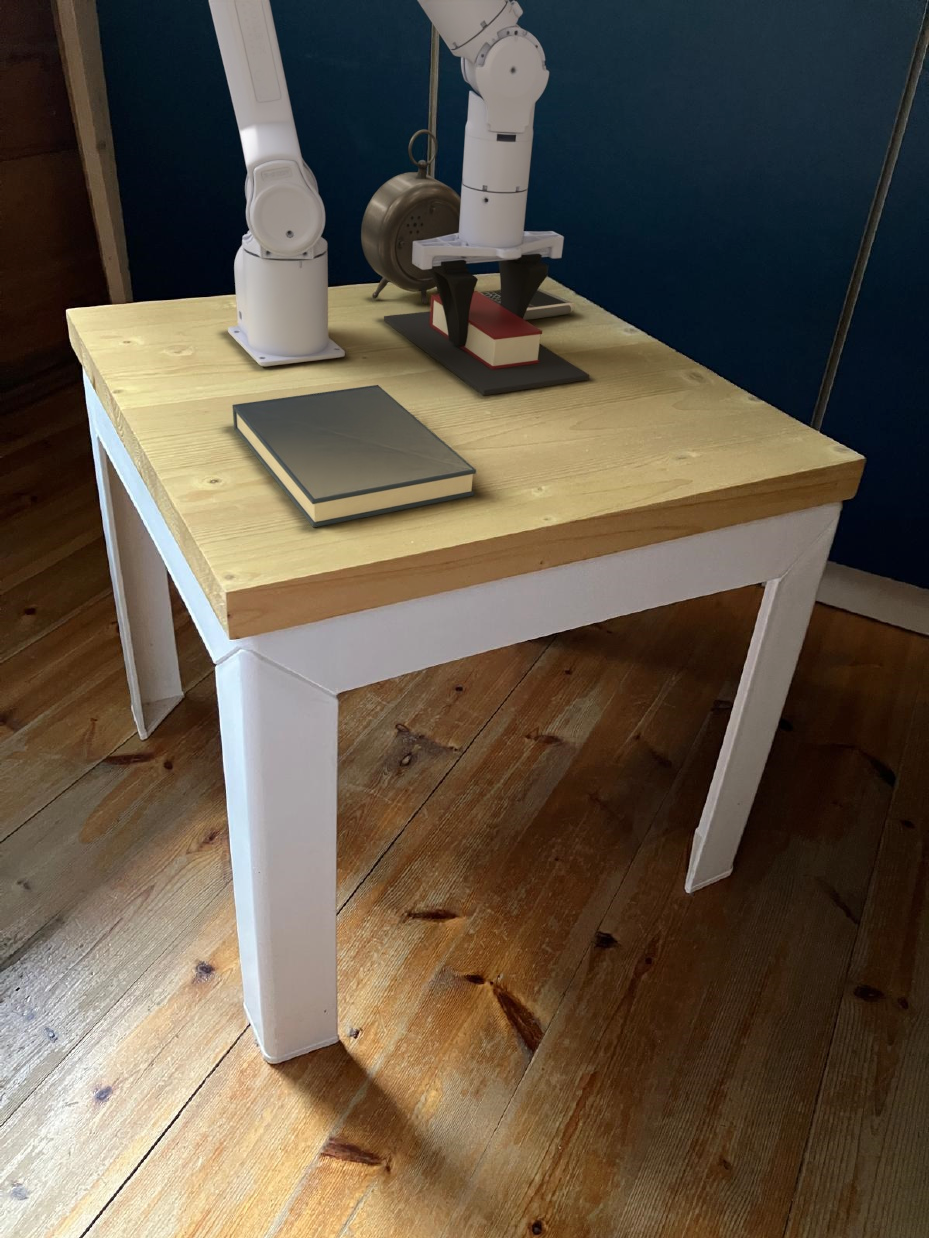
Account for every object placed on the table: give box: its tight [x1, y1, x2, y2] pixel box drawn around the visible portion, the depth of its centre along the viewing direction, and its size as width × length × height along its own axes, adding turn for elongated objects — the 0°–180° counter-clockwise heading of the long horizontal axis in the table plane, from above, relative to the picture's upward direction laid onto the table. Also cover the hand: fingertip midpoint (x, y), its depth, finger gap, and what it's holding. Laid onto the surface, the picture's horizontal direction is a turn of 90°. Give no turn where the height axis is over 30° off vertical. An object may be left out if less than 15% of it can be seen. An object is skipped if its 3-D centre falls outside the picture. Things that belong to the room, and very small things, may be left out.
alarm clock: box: [360, 129, 461, 304], centre depth 99 cm, size 11×5×16 cm, turn 123°
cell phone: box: [478, 287, 576, 321], centre depth 101 cm, size 6×11×1 cm, turn 130°
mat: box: [383, 310, 590, 396], centre depth 93 cm, size 20×11×1 cm, turn 29°
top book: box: [430, 290, 543, 369], centre depth 92 cm, size 12×5×3 cm, turn 29°
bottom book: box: [231, 384, 477, 528], centre depth 71 cm, size 16×12×2 cm
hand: (482, 340), depth 92 cm, fingers closed on top book, 5 cm apart
